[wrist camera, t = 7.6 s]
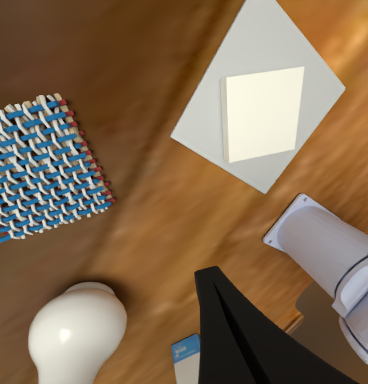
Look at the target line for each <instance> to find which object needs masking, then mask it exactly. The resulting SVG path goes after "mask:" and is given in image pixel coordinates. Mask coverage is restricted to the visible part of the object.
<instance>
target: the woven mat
mask: <svg viewBox="0 0 368 384" xmlns="http://www.w3.org/2000/svg"><path fill="white" fill-rule="evenodd" d="M54 96H55V99H56V100H55V99H54V98H53V97H52V96H50V95H48V96H47V97H48V98H49V99H50V100H51V101H52V102H49V103H47V102H46V99H45V97H44V96H43V95H39V97H37V103H36V101H34V102H32V103H33V104H34V106H32V104H31V103H30V101H26V102H23V104H22V107H23V110H22V109H21V107H20V105H19V104H15V107H16V108H17V109H16V108H15V107H13V106H12V105H10V104H9V105H8V106H7V107H5V108H4V109H5V110H6V111H7V112H8V114H5V113H4V111H3V110H0V151H1V152H2V153H3V154H0V195H2V197H0V224H2V225H0V232H5V233H4V234H5V236H4V237H1V238H0V242H4V241H6V240H8V239H11V238H16V239H21V238H19V237H22V239H24V238H25V234H30V235H33V234H32V233H31V232H30V231H35V232H38V231H37V230H39V231H40V233H42V232H43V229H46V228H47V229H51V228H52V227H50V226H48V225H54V227H55V228H56V227H58V224H57V223H60V224H63V223H65V224H68V221H66V220H70V221H71V223H73V222H74V219H73V218H74V217H75V218H77V219H81V216H82V215H85V214H87V217H91V216H90V212H92V211H93V212H95V213H96V214H98V211H100V210H101V212H104V208H105V209H108V206H110V205H111V203H112V202H115V199H114V197H113V198H112V196H111V194H112V192H111V190H108V188H107V187H106V186H109V185H110V183H109V182H104V181H103V179H104V176H103V175H101V174H100V172H99V171H101V170H102V169H101V167H100V166H99V167H97V166H96V164H95V163H96V160H95V158H94V159H93V158H92V156H91V154H92V152H91V150H88V148H87V146H86V145H88V144H87V142H86V141H84V140H83V138H82V137H81V135H84V134H85V133H84V131H83V130H82V131H78V127H77V126H78V123H77V121H74V120H73V118H72V116H73V115H74V113H73V111H69V110H68V108H67V106H66V105H67V104H68V103H67V101H66V99H63V100H62V98H61V97H60V95H59V94H54ZM54 108H55V114H54V112H53V111H52V109H54ZM59 108H60V110H61V112H60V113H59ZM37 113H39V116H40V117H39V116H38V114H37ZM27 116H28V117H29V118H30V119H31V120H30V119H29V118H28V117H27ZM44 116H45V117H44ZM62 118H64V119H65V121H66V123H65V124H64V122H63V120H62ZM13 119H15V121H16V123H17V125H13V124H12V123H11V122H10V121H9V120H13ZM58 120H59V122H60V124H61V125H60V124H59V122H58ZM48 122H50V124H51V126H52V127H51V126H50V125H49V124H48ZM44 124H45V125H46V127H47V129H45V126H44ZM34 128H35V129H34ZM67 128H68V130H67ZM19 130H22V132H23V134H24V136H20V137H19V134H18V131H19ZM63 130H64V131H63ZM68 131H69V132H68ZM64 132H65V133H64ZM50 133H51V136H52V137H51V136H50V135H48V134H50ZM55 133H56V135H57V136H58V138H56V136H55ZM65 134H66V135H65ZM4 136H5V137H6V138H7V139H8V140H6V138H5V137H4ZM39 138H40V139H41V140H42V141H43V142H41V141H40V139H39ZM26 140H28V141H29V143H30V146H27V145H26V144H25V143H23V141H26ZM72 140H73V141H74V142H75V143H76V144H73V142H72ZM60 142H61V144H62V145H63V147H62V146H61V145H60V144H59V143H60ZM10 145H12V147H13V149H12V147H11V146H10ZM45 147H48V151H49V152H47V150H46V149H45ZM57 147H58V148H59V149H58V148H57ZM78 148H79V149H80V151H81V153H78V152H77V151H76V149H78ZM33 150H34V151H35V152H36V154H37V155H36V156H32V154H31V151H33ZM66 153H67V155H68V156H67V157H66ZM61 154H62V155H61ZM16 155H17V156H18V157H20V158H21V159H22V160H18V161H17V157H16ZM62 156H63V157H62ZM50 157H52V158H53V159H54V161H51V160H50ZM81 158H85V159H81ZM1 159H4V162H3V161H1ZM35 161H38V162H39V164H38V163H37V162H35ZM82 161H83V162H82ZM21 165H26V169H24V168H23V167H22V166H21ZM67 165H68V166H67ZM54 166H59V170H56V169H55V167H54ZM88 168H90V170H87V169H88ZM10 170H11V171H13V172H14V173H10ZM43 170H44V171H45V172H46V174H44V173H43ZM71 172H72V173H73V174H72V173H71ZM76 173H77V174H76ZM28 174H30V175H31V176H33V178H31V177H29V175H28ZM60 175H63V176H64V177H65V178H61V176H60ZM92 175H93V176H94V178H91V177H90V176H92ZM18 177H20V178H21V179H22V181H17V180H15V179H14V178H18ZM50 178H52V179H53V181H48V180H47V179H50ZM79 179H81V180H82V181H80V180H79ZM2 183H4V186H3V184H2ZM34 183H36V184H37V186H35V185H34ZM94 183H95V184H96V185H95V184H94ZM65 184H67V186H66V185H65ZM24 186H27V188H28V189H26V190H23V188H22V187H24ZM56 186H57V187H58V189H56V190H54V187H56ZM85 187H86V189H85ZM81 189H82V190H81ZM40 191H41V192H43V194H41V193H40ZM70 191H72V192H73V193H72V194H71V193H70ZM100 192H101V193H100ZM89 194H90V197H89V196H88V195H89ZM27 195H33V196H34V197H31V198H29V197H28V196H27ZM57 195H63V197H59V196H57ZM85 197H86V198H85ZM20 199H21V200H20ZM48 199H49V201H46V200H48ZM76 199H78V201H75V200H76ZM104 199H106V200H104ZM15 200H17V202H16V201H15ZM5 202H7V203H8V205H5V206H1V204H2V203H5ZM37 202H38V203H39V204H37V205H34V203H37ZM65 202H67V203H68V204H65V205H64V203H65ZM93 202H94V203H93ZM89 204H90V205H89ZM24 206H26V207H27V208H26V207H24ZM80 206H81V207H80ZM67 210H69V211H67ZM97 210H98V211H97ZM39 211H40V212H39ZM7 212H9V213H7ZM45 218H47V220H45ZM13 219H17V220H16V221H14V220H13ZM36 221H37V222H36Z"/></svg>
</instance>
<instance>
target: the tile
mask: <svg viewBox="0 0 368 384" xmlns="http://www.w3.org/2000/svg"><path fill="white" fill-rule="evenodd" d="M304 67H305V66H303V67H296V68H289V69H282V70H275V71H268V72H261V73H254V74H247V75H240V76H233V77H226V78H223V79H220V84H221V106H222V127H223V148H224V160H225V161H227V162H229V163H231V162H236V161H241V160H245V159H250V158H255V157H260V156H264V155H269V154H274V153H279V152H284V151H288V150H293V149H295V142H296V133H297V125H298V117H299V108H300V100H301V92H302V84H303V75H304Z"/></svg>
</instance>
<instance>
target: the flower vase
mask: <svg viewBox="0 0 368 384" xmlns="http://www.w3.org/2000/svg"><path fill="white" fill-rule="evenodd" d="M126 327H127V313H126V310H125V308H124V306H123V304H122V303H121V301H120V300H119V299H118V298H117V297H116V296H115V294H114V292H113V290H112V289H111V288H110V287H108V286H107V285H105V284H102V283H99V282H83V283H79V284H76V285H74V286H72V287H70V288H69V289H67V290H66V291H65V292H64V293H63V294H61V295H59V296H57V297H56V298H54V299H52V300H51V301H50V302H48V303H47V304H46V305H45V306H44V307H43V308H41V309H40V310H39V312H38V313H37V315H36V316H35V318H34V319H33V321H32V323H31V326H30V331H29V337H28V349H29V352H30V355H31V358H32V361H33V362H34V364H35V366H36V368H37V370H38V384H93V382H94V380H95V378H96V376H97V374H98V372H99V370H100V368H101V367H102V365H103V364H104V363H105V362H106V361H107V360H108V359H109V357H110V356H111V355H112V354H113V353H114V352H115V350H116V349H117V348H118V346H119V344H120V343H121V341H122V338H123V336H124V333H125V330H126Z"/></svg>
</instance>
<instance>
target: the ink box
mask: <svg viewBox="0 0 368 384" xmlns="http://www.w3.org/2000/svg"><path fill="white" fill-rule="evenodd" d="M171 347H172V354H173V361H174V368H175V375H176V382H177V384H198V376H199V360H200V337H199V336H198V334H195V335H192V336H190V337H188V338H186V339H184V340H182V341H180V342H177V343H175V344H173V345H172V346H171Z"/></svg>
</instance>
